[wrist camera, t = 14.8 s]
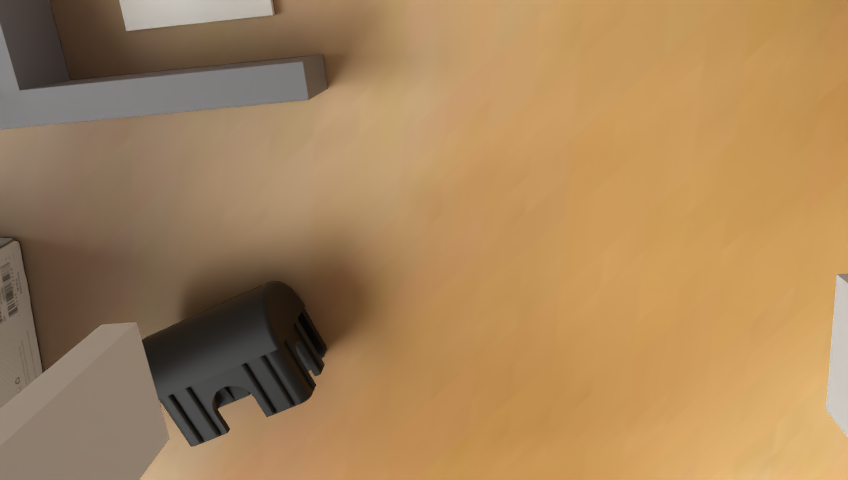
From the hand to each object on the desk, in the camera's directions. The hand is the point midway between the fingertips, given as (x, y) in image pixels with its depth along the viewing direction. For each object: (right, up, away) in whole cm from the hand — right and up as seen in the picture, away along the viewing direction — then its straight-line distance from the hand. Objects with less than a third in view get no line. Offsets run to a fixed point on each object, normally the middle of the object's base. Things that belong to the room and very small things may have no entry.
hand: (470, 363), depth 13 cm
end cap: (-13, -4, +35) cm, 37 cm away
